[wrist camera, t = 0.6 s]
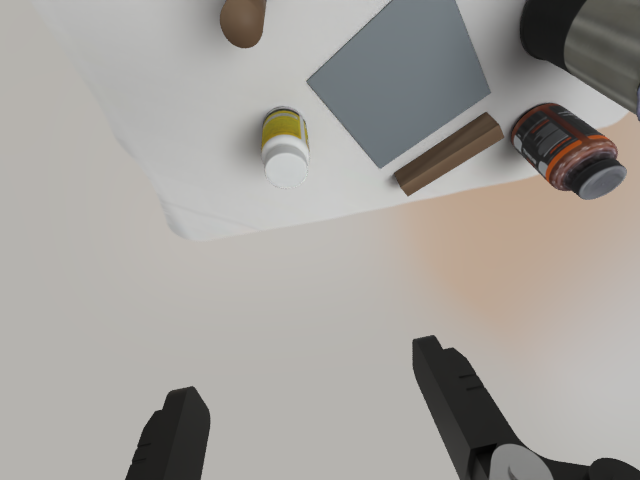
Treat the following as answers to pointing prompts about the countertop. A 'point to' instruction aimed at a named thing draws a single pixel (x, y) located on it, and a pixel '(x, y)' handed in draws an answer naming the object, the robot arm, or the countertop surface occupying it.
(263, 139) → the supplement bottle
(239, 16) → the post
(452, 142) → the rail
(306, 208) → the countertop surface
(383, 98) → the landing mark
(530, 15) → the milk frother
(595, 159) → the supplement bottle
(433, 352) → the robot arm
